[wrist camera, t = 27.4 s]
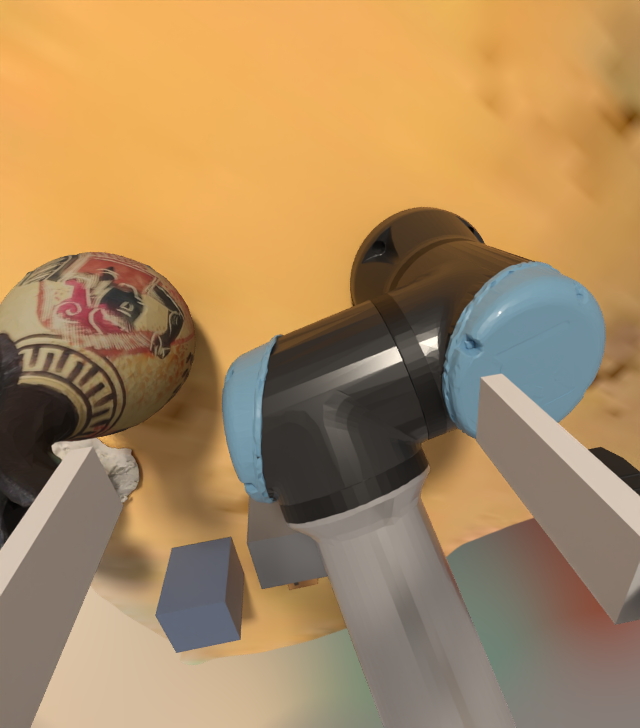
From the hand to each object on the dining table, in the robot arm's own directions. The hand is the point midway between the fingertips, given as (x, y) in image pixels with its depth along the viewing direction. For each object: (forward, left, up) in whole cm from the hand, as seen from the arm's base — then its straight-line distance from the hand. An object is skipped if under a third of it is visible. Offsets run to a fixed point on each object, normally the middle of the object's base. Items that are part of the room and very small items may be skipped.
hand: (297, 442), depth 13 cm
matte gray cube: (+5, +35, -32) cm, 47 cm away
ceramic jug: (+17, +3, -32) cm, 36 cm away
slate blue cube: (+19, +45, -32) cm, 58 cm away
